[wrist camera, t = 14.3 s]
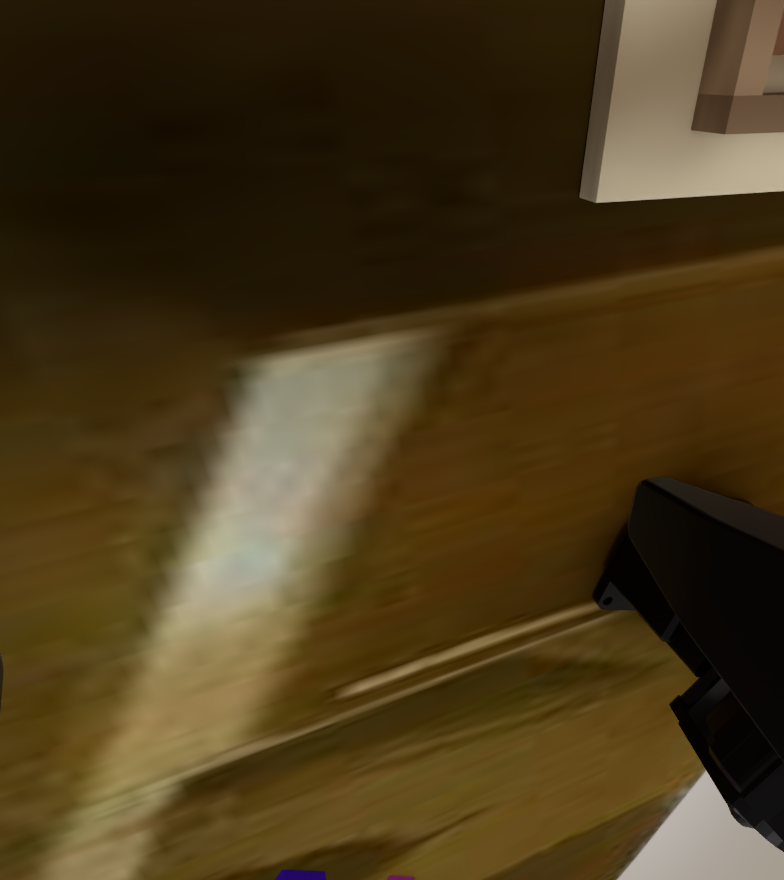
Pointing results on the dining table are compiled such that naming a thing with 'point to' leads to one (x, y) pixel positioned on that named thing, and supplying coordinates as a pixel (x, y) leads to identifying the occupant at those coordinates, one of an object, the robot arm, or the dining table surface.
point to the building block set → (317, 875)
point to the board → (686, 101)
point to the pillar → (780, 39)
